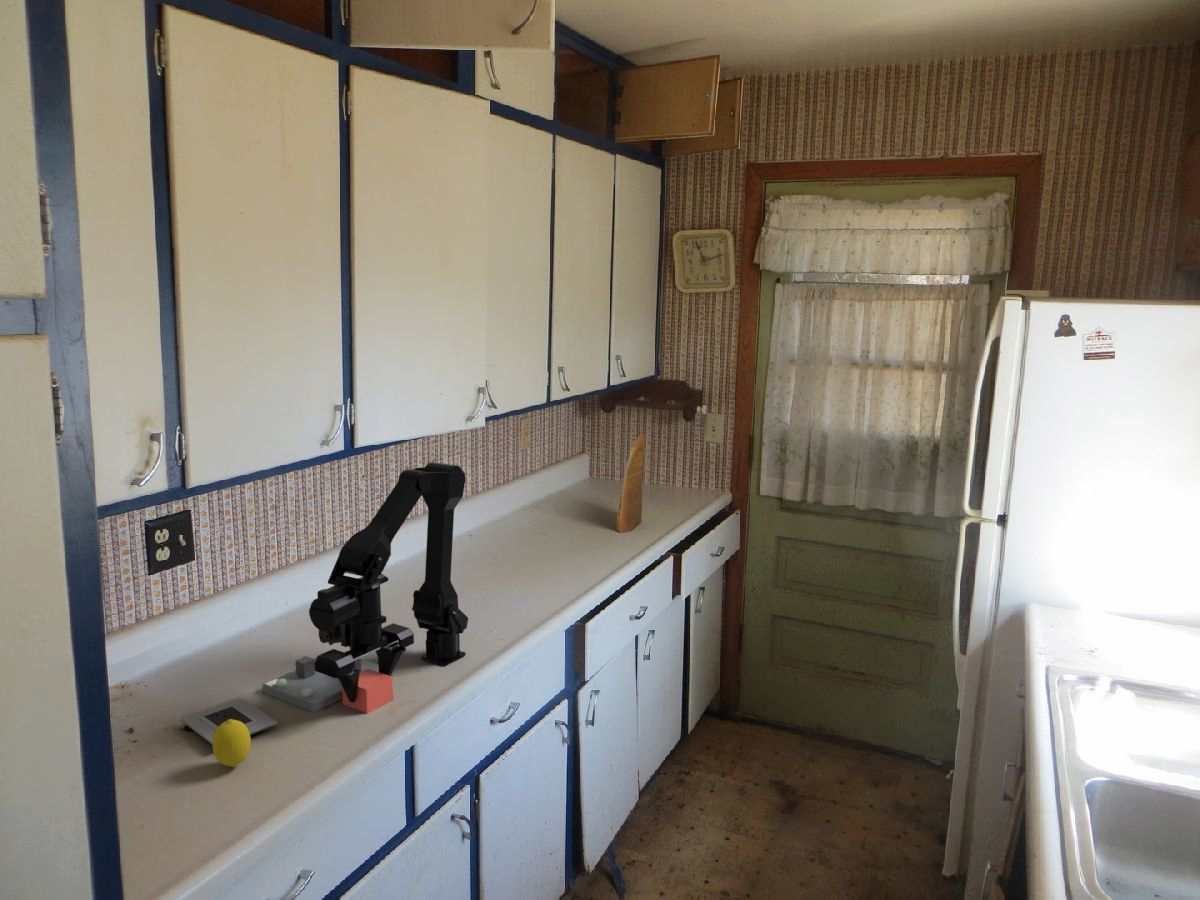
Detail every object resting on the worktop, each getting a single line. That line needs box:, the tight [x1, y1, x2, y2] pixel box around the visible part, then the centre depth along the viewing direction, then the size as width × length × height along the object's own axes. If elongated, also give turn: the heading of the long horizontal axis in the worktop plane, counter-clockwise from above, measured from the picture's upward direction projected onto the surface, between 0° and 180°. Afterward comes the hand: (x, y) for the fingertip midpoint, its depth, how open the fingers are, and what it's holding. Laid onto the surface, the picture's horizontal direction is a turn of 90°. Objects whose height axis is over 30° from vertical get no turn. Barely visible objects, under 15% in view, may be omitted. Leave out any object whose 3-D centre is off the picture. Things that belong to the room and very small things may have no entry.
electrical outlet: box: [179, 697, 278, 745], centre depth 154 cm, size 13×10×2 cm
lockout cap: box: [342, 669, 394, 714], centre depth 164 cm, size 6×6×4 cm
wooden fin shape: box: [616, 432, 647, 533], centre depth 276 cm, size 7×19×28 cm, turn 160°
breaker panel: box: [262, 658, 379, 713], centre depth 171 cm, size 18×14×2 cm
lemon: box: [211, 719, 252, 768], centre depth 142 cm, size 6×6×8 cm
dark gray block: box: [295, 655, 315, 679], centre depth 171 cm, size 2×2×3 cm
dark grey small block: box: [354, 657, 362, 672], centre depth 171 cm, size 2×2×3 cm
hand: (367, 694), depth 164 cm, fingers open, 7 cm apart
